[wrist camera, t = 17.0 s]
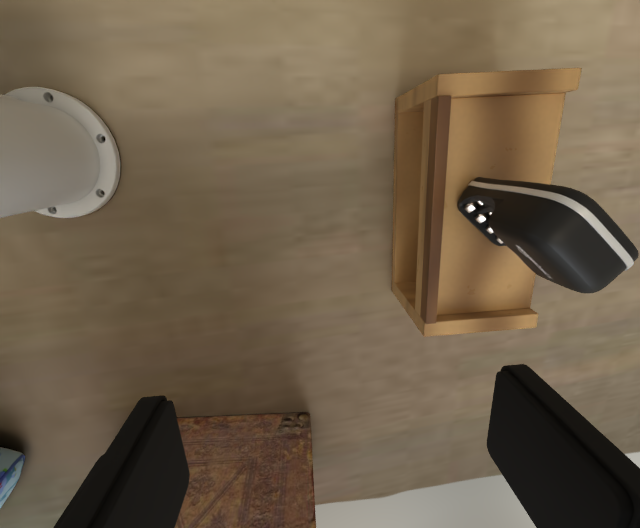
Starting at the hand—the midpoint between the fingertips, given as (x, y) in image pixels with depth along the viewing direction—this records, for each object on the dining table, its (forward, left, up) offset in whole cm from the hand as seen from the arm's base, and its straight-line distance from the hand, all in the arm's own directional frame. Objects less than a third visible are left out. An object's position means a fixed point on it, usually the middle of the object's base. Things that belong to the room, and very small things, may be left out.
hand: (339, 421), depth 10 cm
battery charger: (+10, +12, -20) cm, 26 cm away
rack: (+10, +12, -30) cm, 34 cm away
